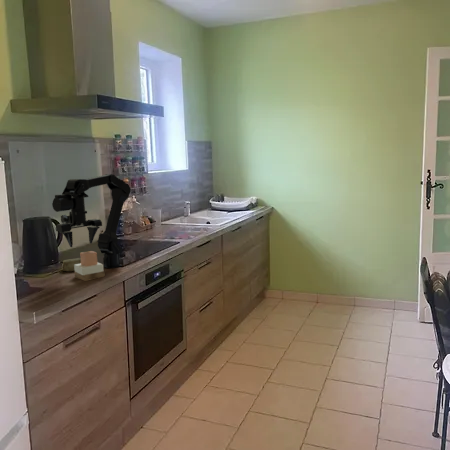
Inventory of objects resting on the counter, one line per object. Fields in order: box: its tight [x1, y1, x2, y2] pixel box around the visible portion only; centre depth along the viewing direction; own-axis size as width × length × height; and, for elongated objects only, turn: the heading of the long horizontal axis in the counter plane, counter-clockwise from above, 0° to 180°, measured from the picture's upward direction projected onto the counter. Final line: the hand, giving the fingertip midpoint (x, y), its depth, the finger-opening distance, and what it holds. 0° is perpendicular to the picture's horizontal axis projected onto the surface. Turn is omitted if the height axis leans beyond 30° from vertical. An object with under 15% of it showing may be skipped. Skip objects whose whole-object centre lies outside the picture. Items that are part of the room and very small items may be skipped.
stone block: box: [62, 257, 81, 272], centre depth 209 cm, size 6×12×5 cm, turn 118°
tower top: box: [74, 261, 105, 275], centre depth 195 cm, size 9×9×3 cm
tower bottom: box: [73, 270, 106, 282], centre depth 195 cm, size 9×9×3 cm
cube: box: [79, 250, 98, 266], centre depth 194 cm, size 5×5×5 cm
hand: (81, 245), depth 197 cm, fingers open, 9 cm apart
